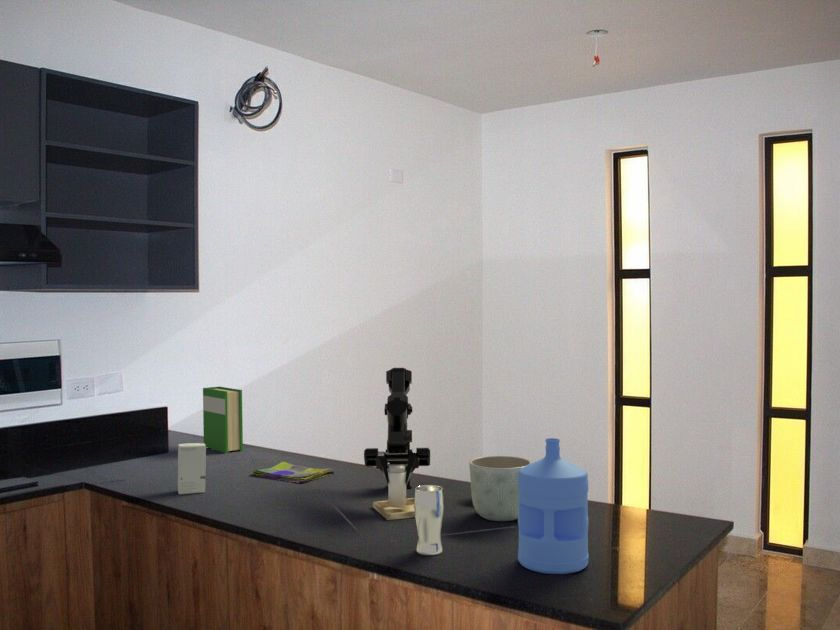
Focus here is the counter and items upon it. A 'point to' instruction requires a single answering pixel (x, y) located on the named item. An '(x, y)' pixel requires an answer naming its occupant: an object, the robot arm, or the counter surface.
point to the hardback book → (222, 419)
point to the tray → (395, 510)
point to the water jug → (553, 514)
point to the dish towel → (292, 473)
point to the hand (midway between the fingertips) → (397, 482)
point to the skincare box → (191, 468)
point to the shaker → (397, 486)
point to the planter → (496, 486)
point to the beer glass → (429, 518)
